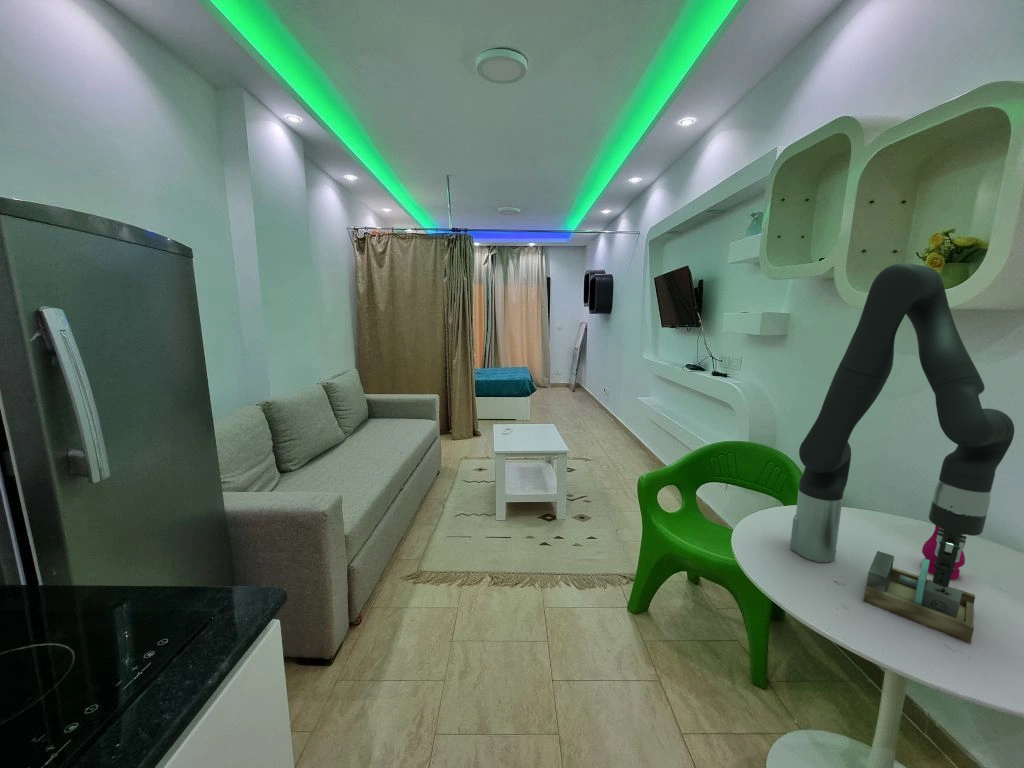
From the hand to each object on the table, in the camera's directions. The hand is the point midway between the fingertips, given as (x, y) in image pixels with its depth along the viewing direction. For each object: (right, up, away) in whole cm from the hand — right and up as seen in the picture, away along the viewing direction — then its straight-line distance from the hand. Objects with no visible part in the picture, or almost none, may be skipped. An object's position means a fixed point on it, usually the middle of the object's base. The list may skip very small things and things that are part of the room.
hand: (942, 575), depth 85 cm
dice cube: (+1, -9, +1) cm, 9 cm away
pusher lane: (-1, -9, +4) cm, 9 cm away
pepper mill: (+15, -6, +15) cm, 22 cm away
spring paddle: (-2, -7, +5) cm, 9 cm away
